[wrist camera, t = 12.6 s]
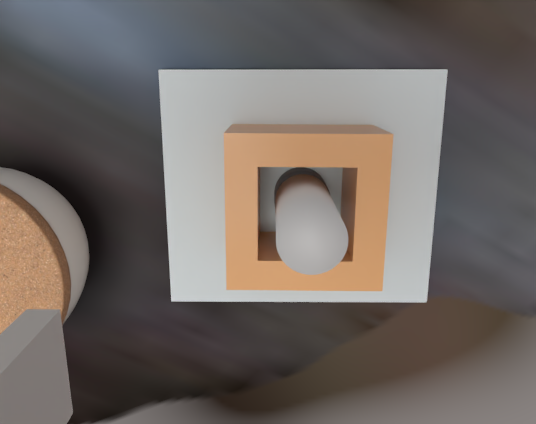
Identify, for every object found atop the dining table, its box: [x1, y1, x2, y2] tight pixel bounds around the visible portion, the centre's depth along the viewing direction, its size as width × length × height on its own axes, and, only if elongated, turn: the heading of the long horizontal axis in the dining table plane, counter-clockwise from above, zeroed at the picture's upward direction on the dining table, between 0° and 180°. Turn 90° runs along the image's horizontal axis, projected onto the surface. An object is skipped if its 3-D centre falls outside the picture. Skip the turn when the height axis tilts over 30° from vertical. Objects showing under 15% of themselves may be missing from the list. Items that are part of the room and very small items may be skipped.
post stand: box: [159, 69, 448, 302], centre depth 25 cm, size 14×16×10 cm
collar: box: [224, 124, 393, 291], centre depth 27 cm, size 8×8×5 cm
